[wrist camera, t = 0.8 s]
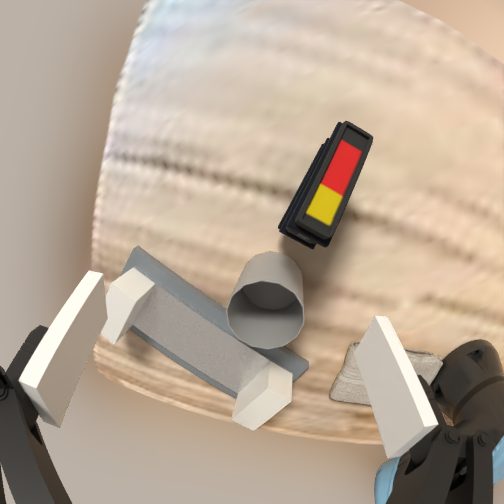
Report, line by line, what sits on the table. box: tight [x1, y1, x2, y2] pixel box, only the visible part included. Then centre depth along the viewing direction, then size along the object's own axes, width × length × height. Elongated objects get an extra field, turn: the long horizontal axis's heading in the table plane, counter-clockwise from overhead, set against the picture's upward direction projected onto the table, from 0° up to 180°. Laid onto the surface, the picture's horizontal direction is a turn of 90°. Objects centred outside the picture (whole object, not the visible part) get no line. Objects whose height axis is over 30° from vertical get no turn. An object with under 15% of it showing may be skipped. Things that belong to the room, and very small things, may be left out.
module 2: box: [231, 361, 293, 431], centre depth 41 cm, size 4×9×6 cm, turn 145°
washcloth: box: [329, 341, 443, 405], centre depth 42 cm, size 12×18×3 cm, turn 80°
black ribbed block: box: [278, 121, 373, 249], centre depth 31 cm, size 4×13×15 cm, turn 153°
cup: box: [226, 251, 305, 349], centre depth 36 cm, size 8×8×10 cm
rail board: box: [120, 246, 309, 399], centre depth 44 cm, size 31×13×2 cm, turn 55°
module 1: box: [100, 267, 155, 345], centre depth 39 cm, size 4×9×6 cm, turn 145°
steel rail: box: [133, 266, 293, 393], centre depth 43 cm, size 28×9×1 cm, turn 55°
